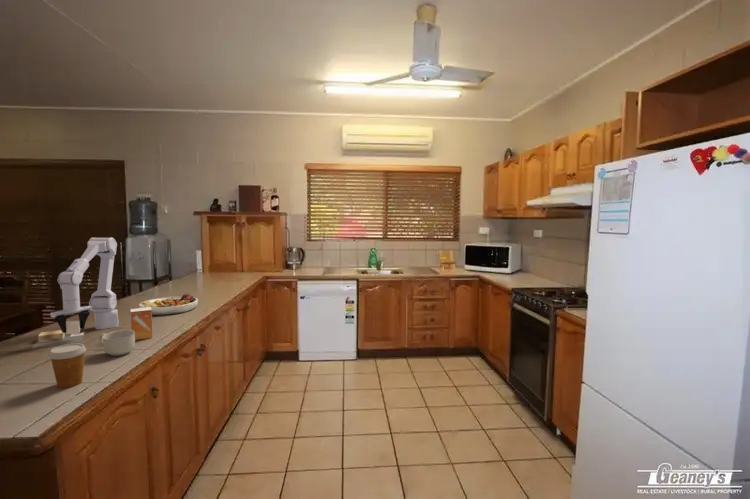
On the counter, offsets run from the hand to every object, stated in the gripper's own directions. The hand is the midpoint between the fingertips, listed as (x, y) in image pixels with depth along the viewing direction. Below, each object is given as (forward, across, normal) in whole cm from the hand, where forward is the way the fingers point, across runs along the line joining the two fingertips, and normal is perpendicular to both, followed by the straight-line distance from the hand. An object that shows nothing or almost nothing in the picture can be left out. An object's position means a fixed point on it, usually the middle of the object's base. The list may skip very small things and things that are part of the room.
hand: (73, 330), depth 164 cm
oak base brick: (+4, +4, -9) cm, 11 cm away
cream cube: (+1, 0, 0) cm, 1 cm away
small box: (+5, -18, +19) cm, 27 cm away
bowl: (+6, -56, -18) cm, 60 cm away
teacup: (+5, -2, +30) cm, 30 cm away
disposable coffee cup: (+5, +22, +46) cm, 51 cm away
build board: (+5, +2, -6) cm, 8 cm away
